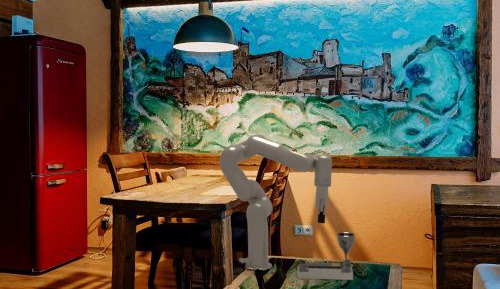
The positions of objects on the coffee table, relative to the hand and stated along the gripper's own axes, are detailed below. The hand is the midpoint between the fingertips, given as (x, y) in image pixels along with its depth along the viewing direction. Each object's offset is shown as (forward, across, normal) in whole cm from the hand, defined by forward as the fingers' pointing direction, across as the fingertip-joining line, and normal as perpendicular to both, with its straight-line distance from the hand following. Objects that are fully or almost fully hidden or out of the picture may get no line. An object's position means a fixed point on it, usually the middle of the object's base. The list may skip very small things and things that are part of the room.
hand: (321, 222), depth 249 cm
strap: (+19, +6, +1) cm, 20 cm away
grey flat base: (+23, +6, +2) cm, 24 cm away
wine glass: (+22, -12, +12) cm, 28 cm away
